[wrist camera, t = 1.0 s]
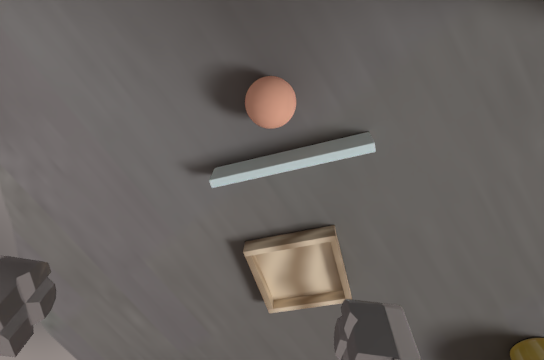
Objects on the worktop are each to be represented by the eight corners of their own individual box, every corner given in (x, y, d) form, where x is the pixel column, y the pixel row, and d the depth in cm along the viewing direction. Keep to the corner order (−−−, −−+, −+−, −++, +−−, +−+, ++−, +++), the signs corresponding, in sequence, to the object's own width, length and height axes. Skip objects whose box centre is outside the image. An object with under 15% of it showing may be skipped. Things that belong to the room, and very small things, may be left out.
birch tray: (334, 224, 43) (335, 235, 41) (350, 290, 48) (352, 301, 46) (245, 241, 45) (243, 252, 43) (270, 301, 51) (269, 313, 49)
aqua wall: (368, 131, 36) (374, 142, 34) (370, 139, 37) (375, 151, 34) (214, 167, 40) (208, 180, 37) (217, 174, 40) (212, 188, 38)
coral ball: (289, 64, 33) (288, 76, 29) (301, 112, 36) (301, 129, 31) (242, 78, 34) (234, 91, 30) (256, 123, 37) (251, 141, 32)
